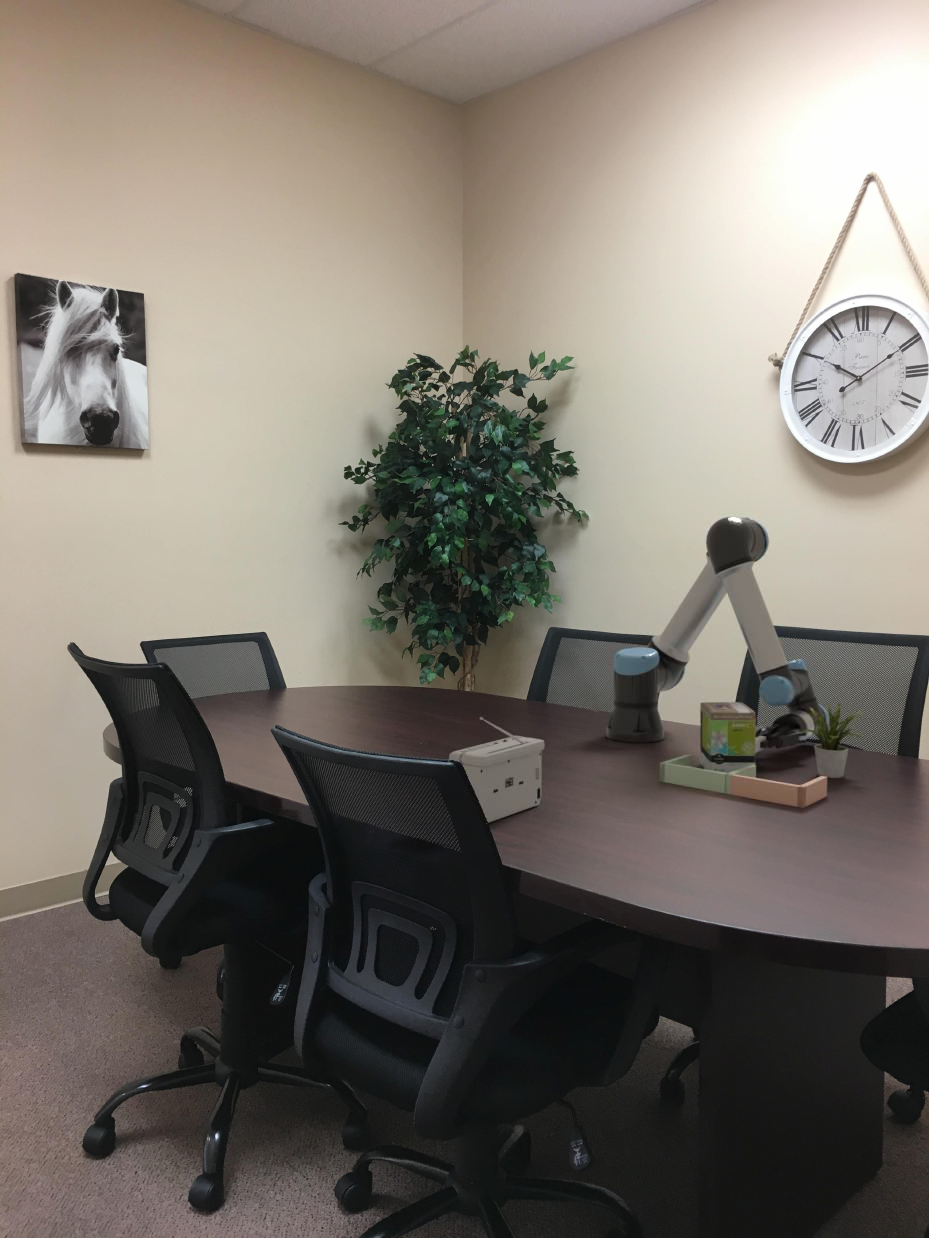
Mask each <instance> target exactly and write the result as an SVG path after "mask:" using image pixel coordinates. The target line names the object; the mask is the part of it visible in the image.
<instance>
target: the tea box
mask: <svg viewBox="0 0 929 1238" xmlns="http://www.w3.org/2000/svg"><path fill="white" fill-rule="evenodd" d="M699 708H700V710H699V711H700V714H699V715H700V716H699V719H700V721H699V722H700V723H699V724H700V730H699V731H700V733H699V734H700V735H699V736H700V738H699V739H700V740H699V742H700V744H699V746H700V752H699V754H700V755H699V758H700V765H701V766H702V767H703V769H706V770H712V771H718V772H724V773H730V772H732V771H735V770H738V769H740V768H743V767H746V766H748V765H756V753H755V727H756V724H757V723H756V721H757V717H756V712H755V711H754V710H753V709H752V708H750V706H747V704H746V703H744V702H740V701H737V702H734V701H733V702H732V701H731V702H729V701H726V702H725V701H724V702H723V701H721V702H720V701H717V702H714V701H713V702H700V707H699Z"/></svg>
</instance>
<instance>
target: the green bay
mask: <svg viewBox="0 0 929 1238" xmlns="http://www.w3.org/2000/svg"><path fill="white" fill-rule="evenodd" d="M692 758H693V755H692V754H687V753H686V754H684V755H681V756H678V757H674V758H671V759H667V760H665V761H662V762H659V782H661V783H667V784H673V785H677V786H683V787H688V788H694V789H699V790H700V789H701V790H703V791H704V790H706V791H709V792H714V793H721V794H726V795H731V794H730V777H731V775H732V774H736V775H742V776H747V777H753V778H757V765H756V764H755V765H748V766H746V767H743V768H740V769H738V770H735V771H732V772H730V773H724V772H718V771H712V770H706V769H705V768H700V767H693V765H692V764H693V759H692Z"/></svg>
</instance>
